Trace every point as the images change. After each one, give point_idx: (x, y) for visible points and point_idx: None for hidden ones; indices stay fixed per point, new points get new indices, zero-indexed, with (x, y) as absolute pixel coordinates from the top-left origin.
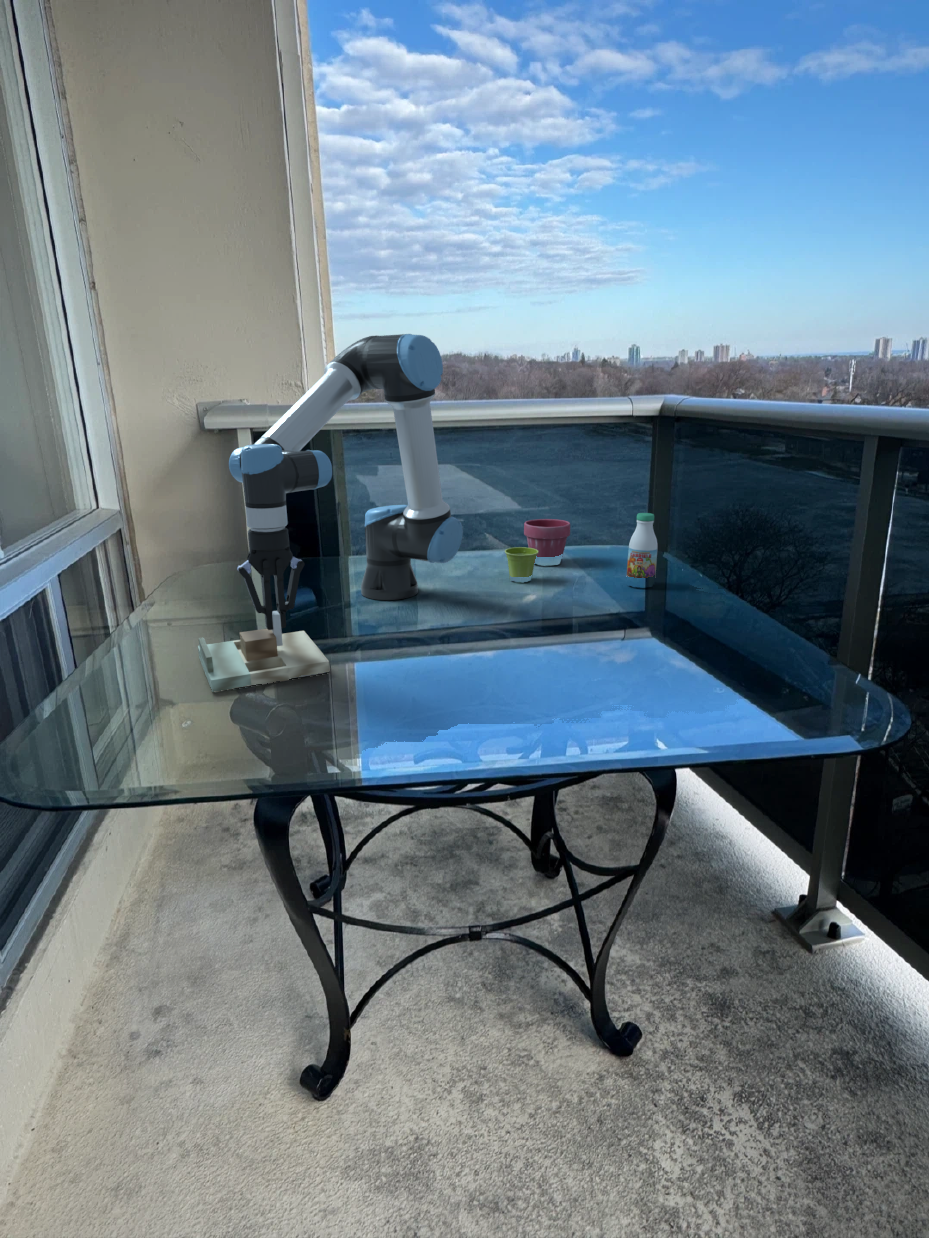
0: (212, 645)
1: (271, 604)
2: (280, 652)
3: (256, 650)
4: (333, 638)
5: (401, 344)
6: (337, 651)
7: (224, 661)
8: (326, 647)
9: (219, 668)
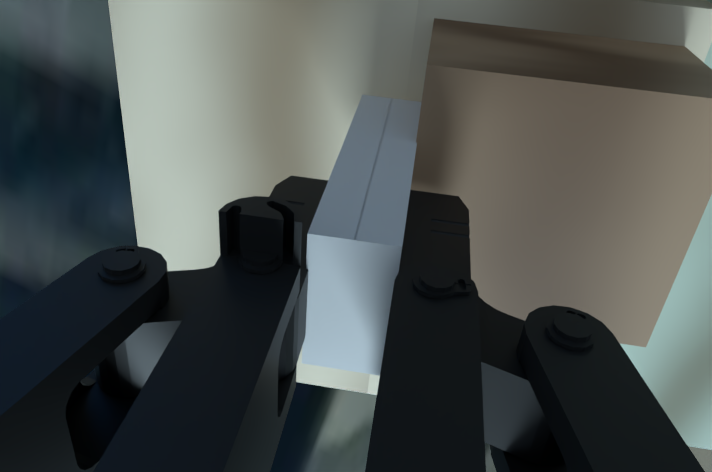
0: (703, 423)
1: (389, 350)
2: (388, 86)
3: (615, 58)
4: (26, 276)
5: None
6: (20, 81)
7: None
8: (77, 177)
9: None
